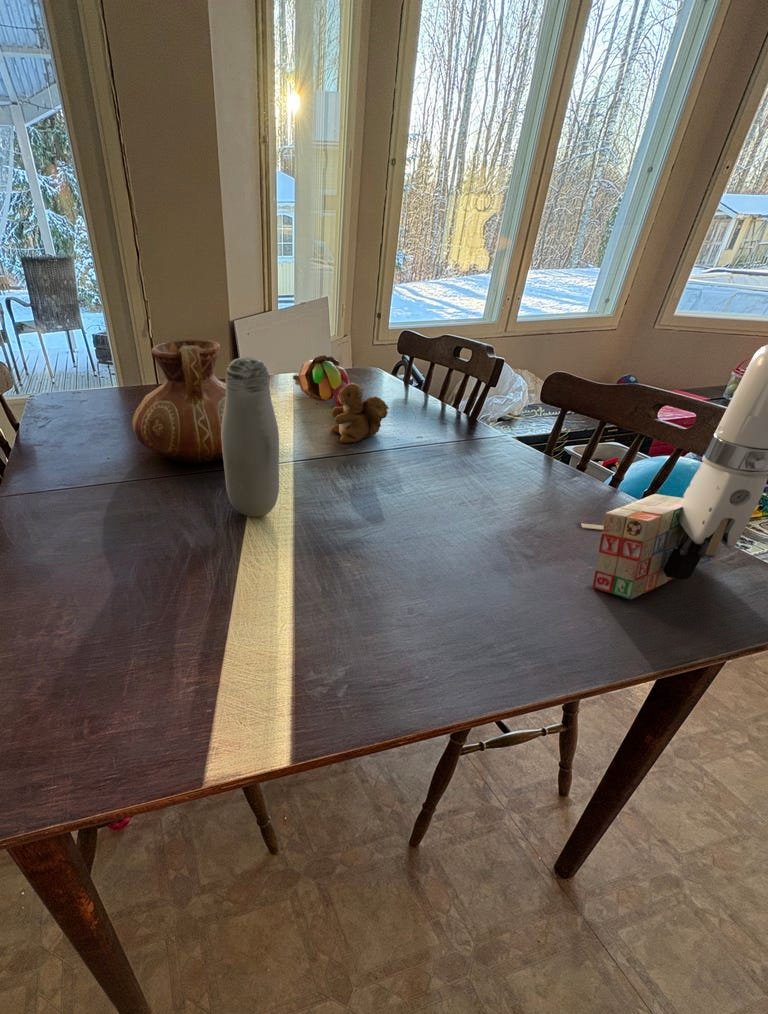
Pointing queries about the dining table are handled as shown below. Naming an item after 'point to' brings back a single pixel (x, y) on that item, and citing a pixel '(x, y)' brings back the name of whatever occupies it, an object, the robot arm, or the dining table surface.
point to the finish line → (592, 526)
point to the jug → (184, 404)
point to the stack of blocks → (638, 546)
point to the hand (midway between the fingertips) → (675, 575)
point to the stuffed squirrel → (357, 414)
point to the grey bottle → (250, 438)
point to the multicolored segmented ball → (322, 378)
